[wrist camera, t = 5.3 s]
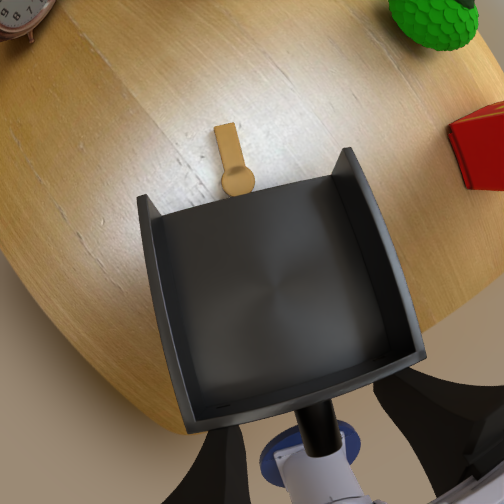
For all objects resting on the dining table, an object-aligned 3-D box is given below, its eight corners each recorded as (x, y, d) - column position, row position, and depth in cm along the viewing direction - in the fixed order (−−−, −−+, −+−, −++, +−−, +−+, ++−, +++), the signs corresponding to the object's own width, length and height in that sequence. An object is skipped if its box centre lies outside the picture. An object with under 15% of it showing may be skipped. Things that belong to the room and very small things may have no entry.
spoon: (257, 193, 21) (258, 193, 20) (226, 201, 21) (226, 201, 20) (239, 122, 20) (239, 120, 19) (208, 130, 20) (207, 128, 19)
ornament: (419, -4, 19) (474, -45, 9) (453, 62, 20) (523, 33, 10) (357, -9, 18) (410, -69, 8) (395, 64, 20) (471, 20, 10)
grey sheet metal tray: (407, 401, 13) (438, 411, 10) (215, 462, 12) (207, 489, 9) (336, 177, 16) (351, 146, 13) (155, 221, 15) (135, 196, 12)
